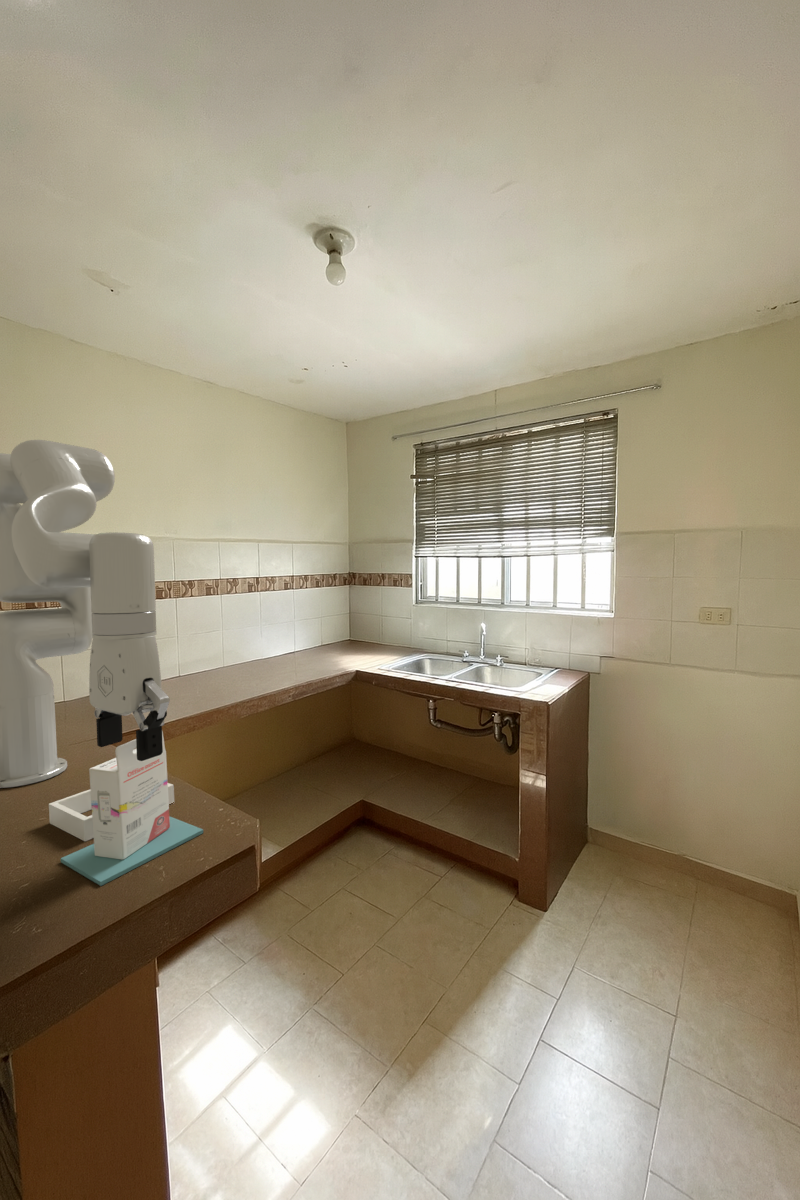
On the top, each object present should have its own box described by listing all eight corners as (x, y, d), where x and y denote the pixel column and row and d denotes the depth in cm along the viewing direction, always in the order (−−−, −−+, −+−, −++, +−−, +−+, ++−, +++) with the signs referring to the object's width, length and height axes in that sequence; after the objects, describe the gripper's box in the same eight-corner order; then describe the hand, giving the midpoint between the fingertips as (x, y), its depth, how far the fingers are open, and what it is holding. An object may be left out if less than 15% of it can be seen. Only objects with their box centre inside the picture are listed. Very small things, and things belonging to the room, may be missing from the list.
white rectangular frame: (49, 823, 74) (48, 803, 74) (138, 789, 85) (137, 772, 85) (85, 841, 68) (83, 820, 68) (174, 802, 80) (173, 784, 79)
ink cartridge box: (142, 824, 72) (138, 725, 71) (171, 828, 70) (166, 727, 70) (91, 856, 63) (86, 745, 63) (122, 861, 62) (116, 747, 61)
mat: (60, 862, 63) (60, 858, 63) (162, 816, 75) (162, 813, 75) (100, 886, 58) (100, 881, 58) (203, 832, 70) (203, 829, 70)
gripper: (62, 624, 67) (67, 747, 68) (133, 632, 58) (138, 773, 58) (118, 620, 73) (122, 732, 74) (189, 626, 64) (193, 754, 65)
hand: (129, 750), depth 66 cm, fingers open, 9 cm apart
